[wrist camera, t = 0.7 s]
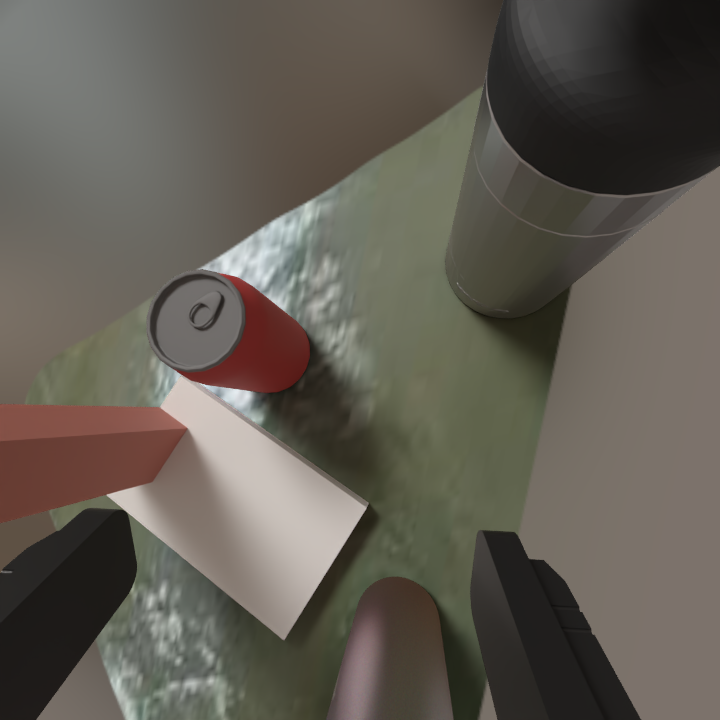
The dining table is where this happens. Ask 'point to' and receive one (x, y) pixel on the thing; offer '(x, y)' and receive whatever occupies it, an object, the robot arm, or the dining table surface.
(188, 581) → the dining table surface
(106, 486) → the bench press
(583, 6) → the robot arm
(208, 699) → the dining table surface
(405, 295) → the dining table surface
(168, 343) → the beer can
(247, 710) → the dining table surface
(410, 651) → the beverage can
